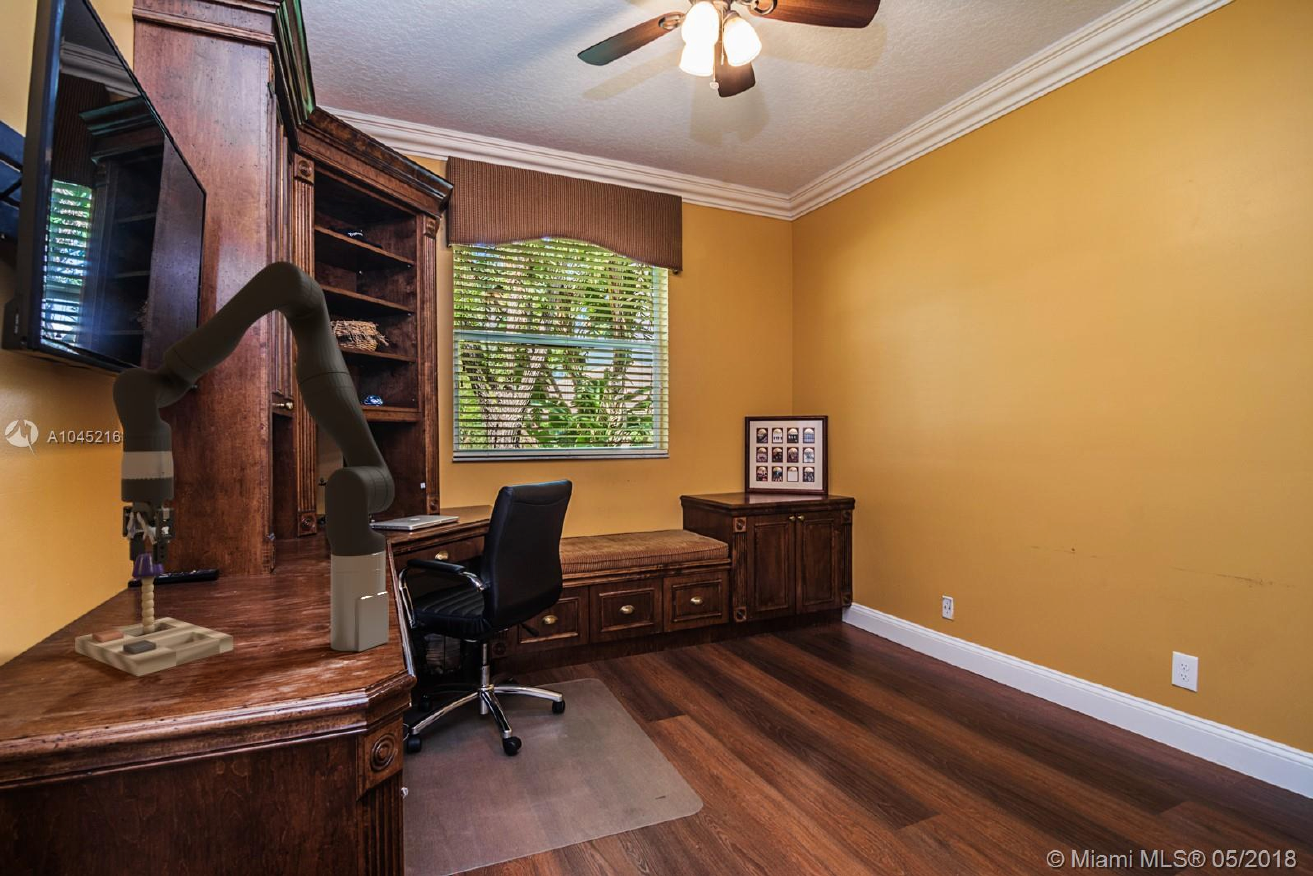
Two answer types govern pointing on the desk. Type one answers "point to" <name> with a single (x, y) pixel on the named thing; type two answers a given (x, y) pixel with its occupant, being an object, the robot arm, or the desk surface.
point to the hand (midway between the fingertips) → (148, 562)
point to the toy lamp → (147, 588)
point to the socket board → (153, 646)
